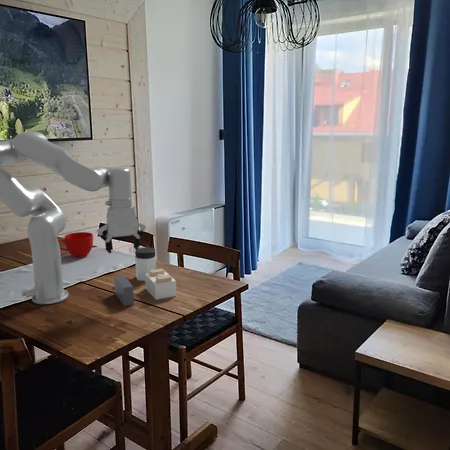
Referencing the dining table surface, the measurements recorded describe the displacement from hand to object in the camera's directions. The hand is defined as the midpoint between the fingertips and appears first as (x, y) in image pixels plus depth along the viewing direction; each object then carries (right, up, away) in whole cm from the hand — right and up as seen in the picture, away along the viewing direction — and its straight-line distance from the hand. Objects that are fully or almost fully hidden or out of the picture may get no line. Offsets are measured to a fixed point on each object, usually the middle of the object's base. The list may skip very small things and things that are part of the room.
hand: (122, 250), depth 160 cm
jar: (+4, -13, +26) cm, 29 cm away
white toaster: (+12, -17, +10) cm, 23 cm away
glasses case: (0, -18, +4) cm, 19 cm away
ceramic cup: (-35, -6, +54) cm, 65 cm away
